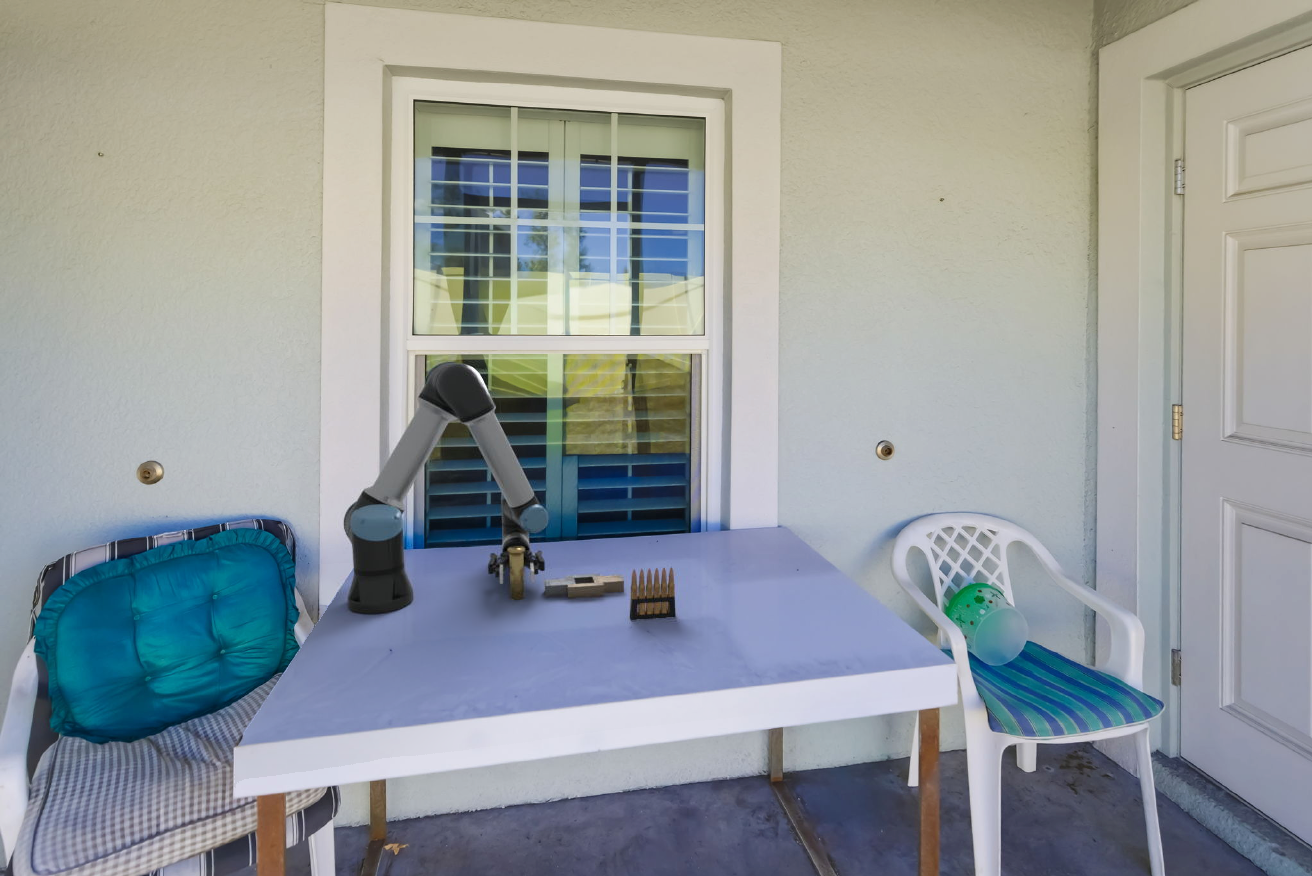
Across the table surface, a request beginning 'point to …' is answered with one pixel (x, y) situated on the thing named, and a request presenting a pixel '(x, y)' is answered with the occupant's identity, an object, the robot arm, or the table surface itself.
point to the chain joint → (584, 586)
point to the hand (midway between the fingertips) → (517, 577)
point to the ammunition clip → (652, 596)
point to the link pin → (516, 572)
